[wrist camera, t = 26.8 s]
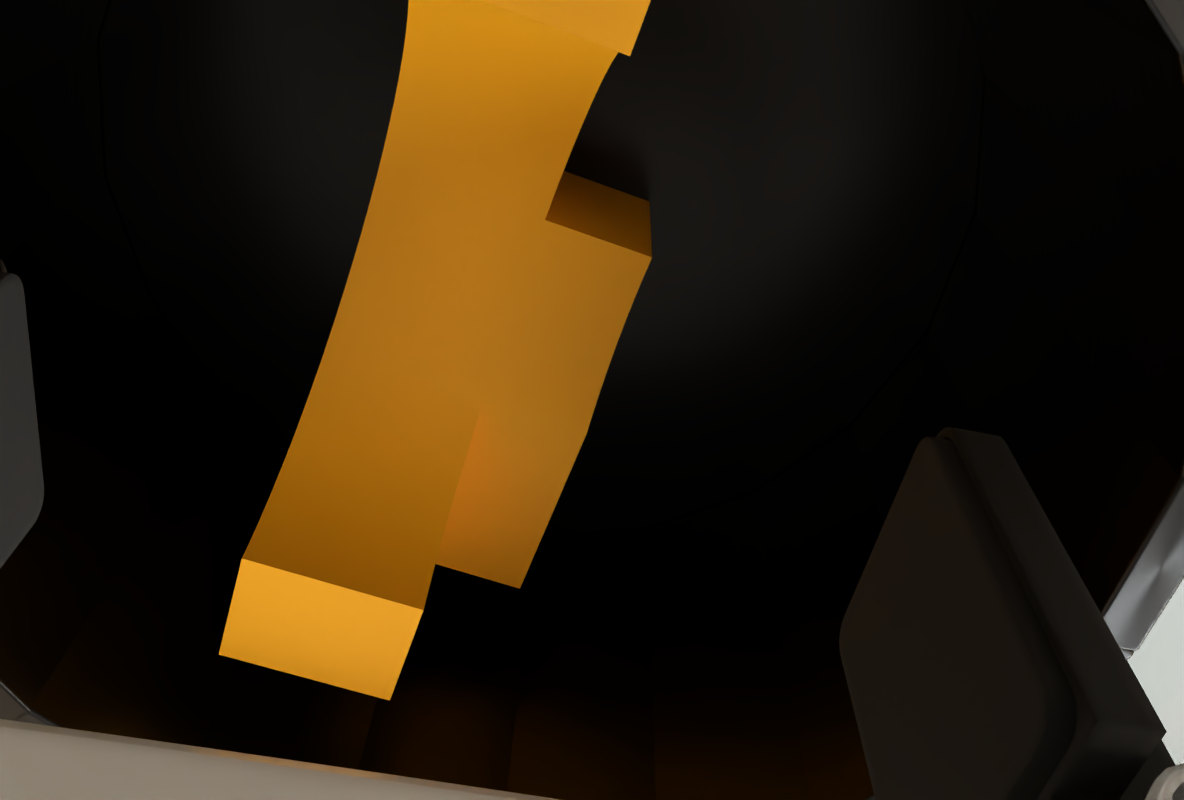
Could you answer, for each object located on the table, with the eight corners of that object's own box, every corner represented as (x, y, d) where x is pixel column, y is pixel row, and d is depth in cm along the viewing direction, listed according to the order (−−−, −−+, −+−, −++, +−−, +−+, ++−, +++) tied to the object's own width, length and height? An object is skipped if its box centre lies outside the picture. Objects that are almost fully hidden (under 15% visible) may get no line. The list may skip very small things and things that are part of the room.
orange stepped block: (533, 482, 22) (501, 731, 16) (326, 419, 21) (218, 654, 15) (786, -132, 16) (872, -74, 10) (508, -248, 15) (438, -254, 9)
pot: (104, 569, 24) (-126, 924, 17) (15, -804, 13) (-813, -1566, 5) (805, 682, 25) (879, 1059, 18) (1292, -480, 14) (2028, -745, 7)
